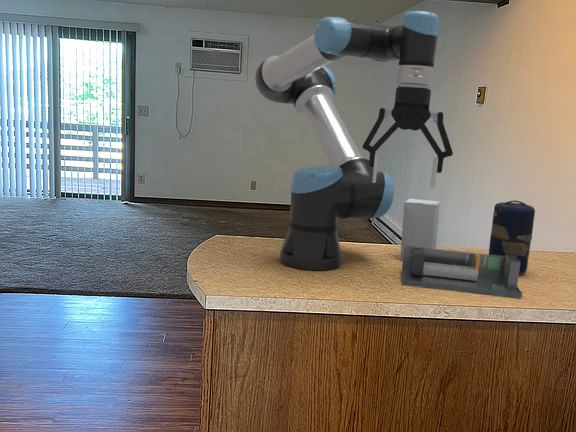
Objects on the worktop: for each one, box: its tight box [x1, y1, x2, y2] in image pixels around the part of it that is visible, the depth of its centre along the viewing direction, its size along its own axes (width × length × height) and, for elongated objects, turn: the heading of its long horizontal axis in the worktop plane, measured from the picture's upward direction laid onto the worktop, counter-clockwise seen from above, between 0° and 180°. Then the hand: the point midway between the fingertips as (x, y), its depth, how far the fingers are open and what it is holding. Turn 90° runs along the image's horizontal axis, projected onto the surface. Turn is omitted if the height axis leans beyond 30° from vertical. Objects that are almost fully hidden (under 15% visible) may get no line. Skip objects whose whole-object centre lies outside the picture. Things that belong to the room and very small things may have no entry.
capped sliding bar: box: [411, 248, 480, 281], centre depth 128 cm, size 14×5×6 cm, turn 79°
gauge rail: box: [401, 246, 523, 299], centre depth 127 cm, size 25×12×7 cm, turn 79°
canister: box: [488, 200, 536, 275], centre depth 140 cm, size 10×10×18 cm
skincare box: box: [399, 198, 441, 260], centre depth 146 cm, size 8×7×16 cm
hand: (403, 184), depth 127 cm, fingers open, 12 cm apart
